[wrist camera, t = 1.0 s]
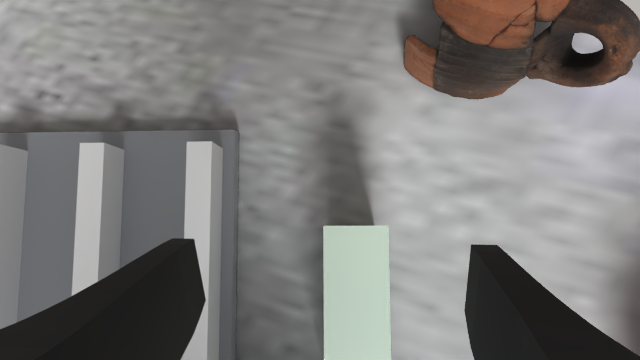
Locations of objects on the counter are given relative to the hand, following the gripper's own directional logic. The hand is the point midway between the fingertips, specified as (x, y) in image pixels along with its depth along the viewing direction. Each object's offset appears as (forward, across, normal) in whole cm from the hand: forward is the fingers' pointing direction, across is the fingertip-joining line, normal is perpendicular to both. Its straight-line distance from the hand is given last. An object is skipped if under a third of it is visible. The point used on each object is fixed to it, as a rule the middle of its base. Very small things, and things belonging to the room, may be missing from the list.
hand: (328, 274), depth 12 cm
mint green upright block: (+9, 0, +8) cm, 12 cm away
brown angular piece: (+17, -7, -4) cm, 19 cm away
